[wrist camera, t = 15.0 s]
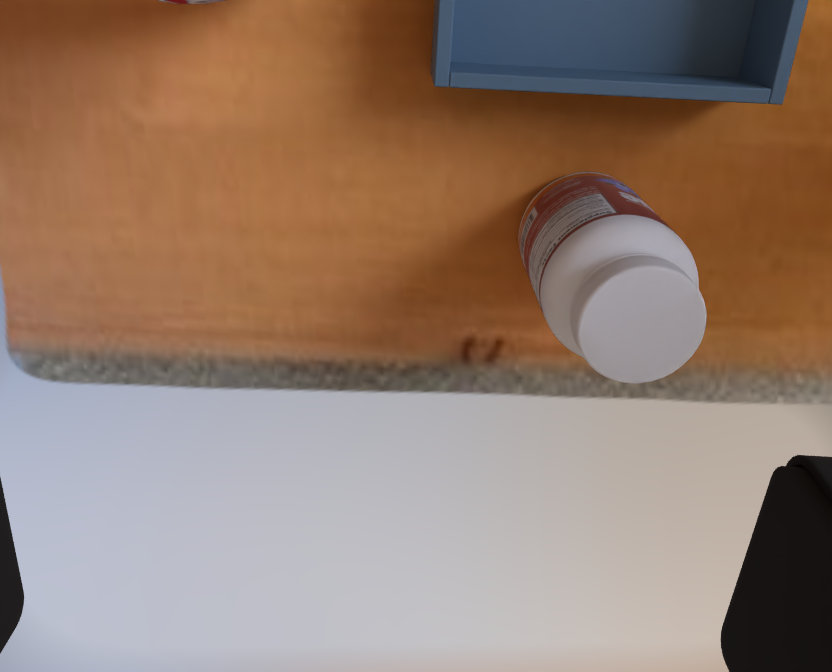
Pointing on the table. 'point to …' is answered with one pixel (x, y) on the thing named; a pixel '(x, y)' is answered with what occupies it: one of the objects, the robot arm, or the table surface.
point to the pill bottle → (612, 278)
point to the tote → (619, 47)
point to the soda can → (191, 1)
